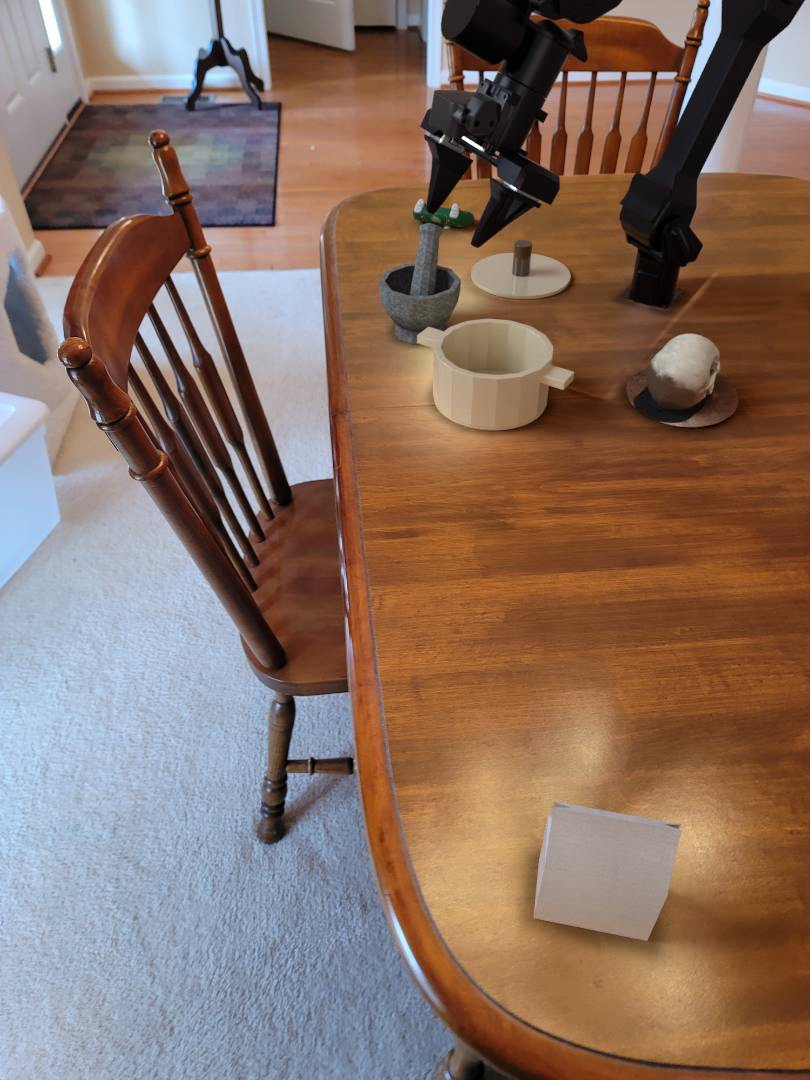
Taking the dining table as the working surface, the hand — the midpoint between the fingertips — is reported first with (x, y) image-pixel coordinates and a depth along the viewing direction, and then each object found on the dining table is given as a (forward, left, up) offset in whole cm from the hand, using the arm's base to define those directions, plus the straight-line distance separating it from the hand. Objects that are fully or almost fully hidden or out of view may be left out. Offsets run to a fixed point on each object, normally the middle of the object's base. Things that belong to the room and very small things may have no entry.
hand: (451, 229), depth 93 cm
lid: (-20, -1, -14) cm, 24 cm away
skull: (-4, +28, -14) cm, 32 cm away
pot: (+8, +10, -14) cm, 19 cm away
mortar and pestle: (-1, -5, -14) cm, 15 cm away
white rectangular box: (+54, +43, -14) cm, 70 cm away
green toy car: (-30, -20, -14) cm, 39 cm away
